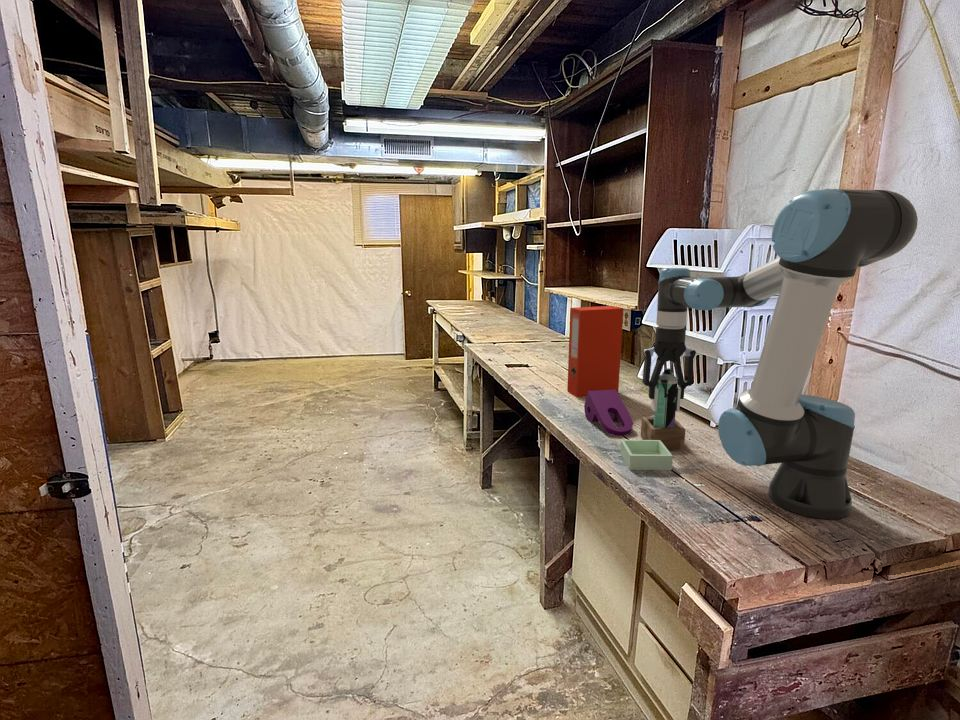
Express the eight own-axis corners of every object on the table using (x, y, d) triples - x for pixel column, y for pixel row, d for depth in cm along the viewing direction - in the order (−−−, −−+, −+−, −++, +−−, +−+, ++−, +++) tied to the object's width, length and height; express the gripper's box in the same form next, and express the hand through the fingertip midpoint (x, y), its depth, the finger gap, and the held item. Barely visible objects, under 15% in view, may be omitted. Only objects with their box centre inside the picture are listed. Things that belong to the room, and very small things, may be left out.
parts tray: (671, 470, 127) (672, 455, 127) (629, 469, 128) (630, 455, 127) (659, 453, 138) (660, 440, 137) (619, 453, 138) (620, 439, 137)
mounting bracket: (631, 449, 155) (609, 408, 169) (638, 430, 150) (616, 389, 164) (601, 452, 154) (582, 410, 167) (607, 432, 148) (587, 391, 162)
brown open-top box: (683, 450, 139) (685, 429, 138) (650, 449, 140) (651, 429, 138) (669, 434, 151) (671, 414, 150) (638, 433, 152) (640, 414, 150)
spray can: (675, 442, 140) (680, 371, 136) (654, 441, 141) (658, 370, 137) (671, 435, 145) (676, 366, 141) (651, 434, 146) (656, 366, 142)
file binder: (618, 393, 192) (623, 308, 185) (577, 397, 187) (580, 310, 180) (607, 387, 200) (611, 305, 193) (567, 391, 195) (569, 307, 188)
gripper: (700, 324, 140) (693, 406, 145) (632, 324, 141) (628, 406, 146) (711, 328, 133) (704, 414, 137) (639, 328, 133) (634, 414, 138)
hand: (665, 410), depth 141 cm, fingers closed on spray can, 5 cm apart
